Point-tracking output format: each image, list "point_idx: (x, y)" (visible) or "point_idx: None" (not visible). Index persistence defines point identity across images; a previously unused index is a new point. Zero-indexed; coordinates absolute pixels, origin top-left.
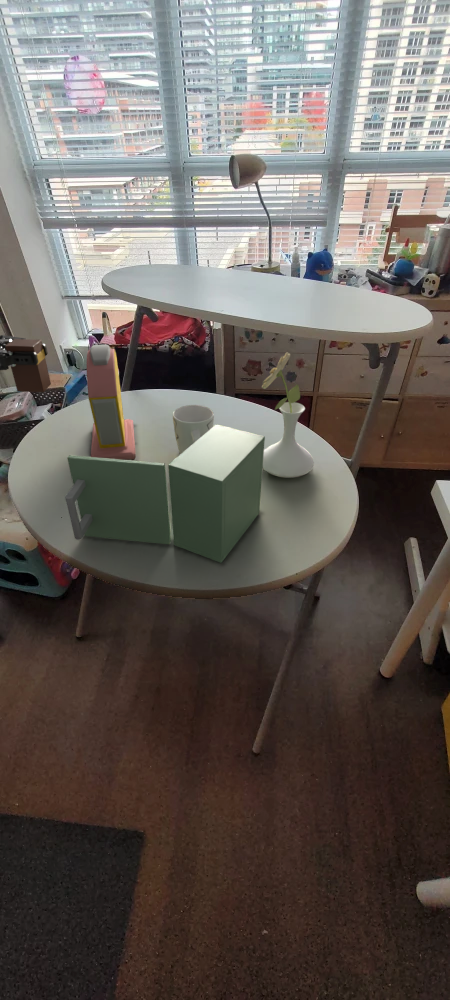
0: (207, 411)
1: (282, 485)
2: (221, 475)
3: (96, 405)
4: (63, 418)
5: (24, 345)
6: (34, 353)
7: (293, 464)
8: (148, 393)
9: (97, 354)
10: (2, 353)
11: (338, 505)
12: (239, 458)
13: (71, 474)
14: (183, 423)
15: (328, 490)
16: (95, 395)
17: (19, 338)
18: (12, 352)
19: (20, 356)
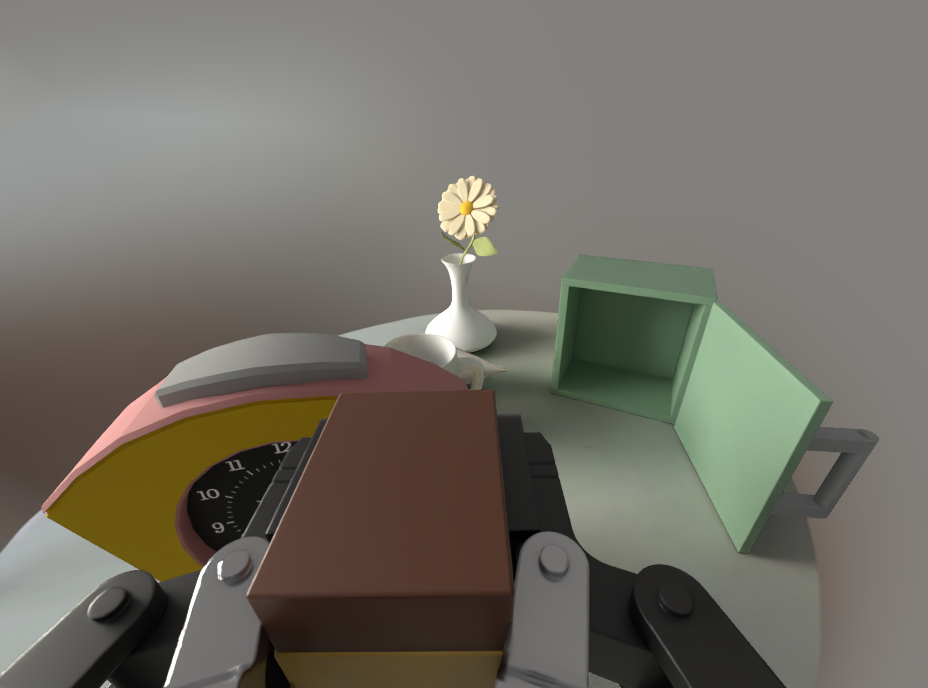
0: (397, 345)
1: (501, 344)
2: (700, 269)
3: None
4: None
5: (481, 434)
6: (515, 414)
7: (487, 318)
8: (27, 553)
9: (323, 351)
10: (584, 649)
11: (531, 315)
12: (648, 263)
13: (812, 437)
14: (453, 361)
15: (505, 319)
16: None
17: (55, 656)
18: (553, 535)
19: (559, 489)
